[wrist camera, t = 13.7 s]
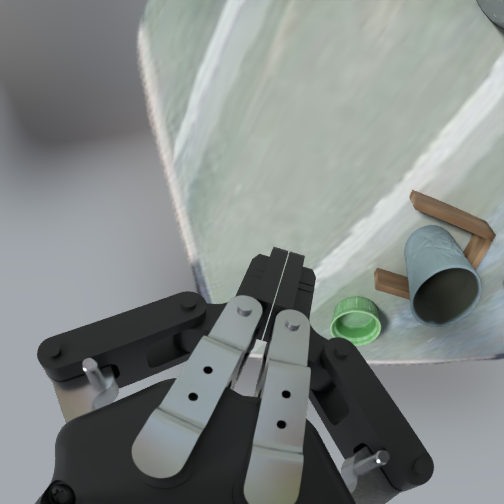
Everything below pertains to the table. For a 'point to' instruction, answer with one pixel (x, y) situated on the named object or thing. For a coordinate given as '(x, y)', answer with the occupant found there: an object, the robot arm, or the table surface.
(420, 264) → the blue-grey plant pot
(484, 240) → the brown piece
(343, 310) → the ramekin
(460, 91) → the table surface
